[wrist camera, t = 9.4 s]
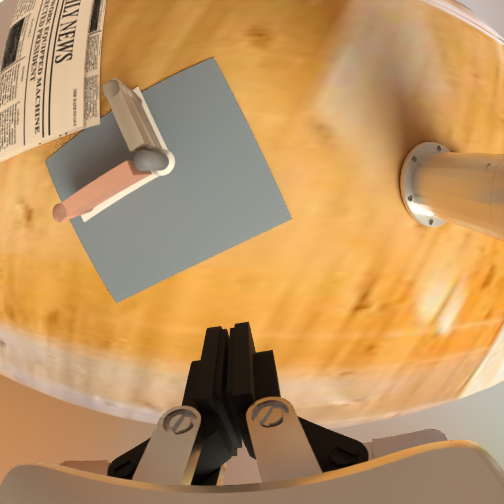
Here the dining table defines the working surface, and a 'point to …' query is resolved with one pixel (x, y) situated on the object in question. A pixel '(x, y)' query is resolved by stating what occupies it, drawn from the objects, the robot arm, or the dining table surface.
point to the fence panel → (110, 184)
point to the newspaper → (50, 72)
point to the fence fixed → (131, 117)
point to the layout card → (172, 184)
